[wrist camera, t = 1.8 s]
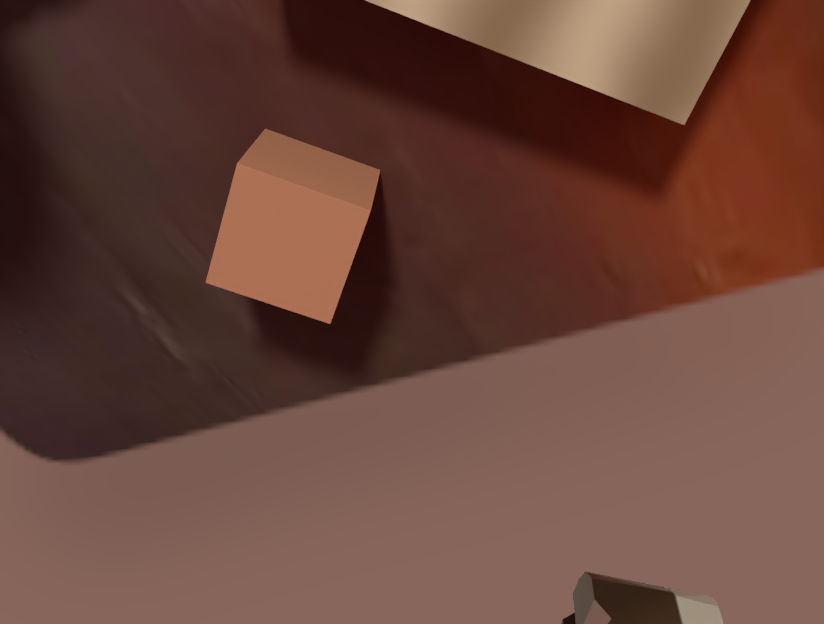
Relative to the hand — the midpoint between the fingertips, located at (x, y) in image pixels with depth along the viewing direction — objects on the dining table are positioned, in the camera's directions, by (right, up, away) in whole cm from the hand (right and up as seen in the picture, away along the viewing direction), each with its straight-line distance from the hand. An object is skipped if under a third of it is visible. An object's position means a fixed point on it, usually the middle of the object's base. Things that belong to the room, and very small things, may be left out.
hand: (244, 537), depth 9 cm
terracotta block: (-2, +7, +24) cm, 25 cm away
